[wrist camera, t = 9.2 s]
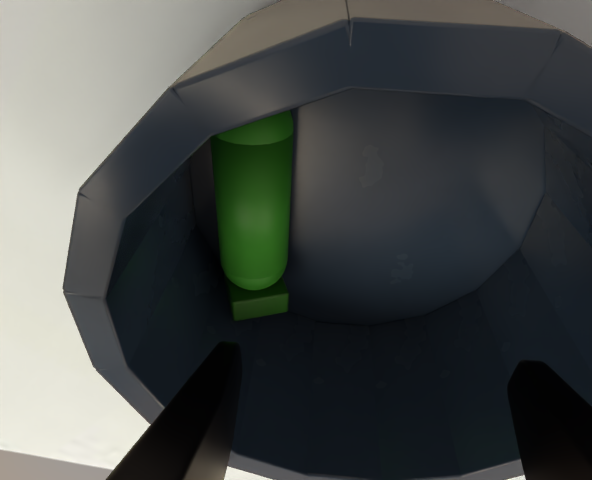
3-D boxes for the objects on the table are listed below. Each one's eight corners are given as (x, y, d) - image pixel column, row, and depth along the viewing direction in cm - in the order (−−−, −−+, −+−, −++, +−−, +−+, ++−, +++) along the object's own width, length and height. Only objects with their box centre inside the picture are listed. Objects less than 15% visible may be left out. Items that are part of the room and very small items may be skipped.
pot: (674, 117, 12) (950, 267, 6) (411, 364, 19) (439, 528, 14) (251, -138, 9) (142, -231, 4) (135, 259, 16) (41, 412, 11)
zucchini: (306, 97, 10) (282, 71, 11) (212, 101, 9) (201, 74, 11) (292, 329, 15) (277, 287, 16) (230, 341, 14) (221, 296, 16)
